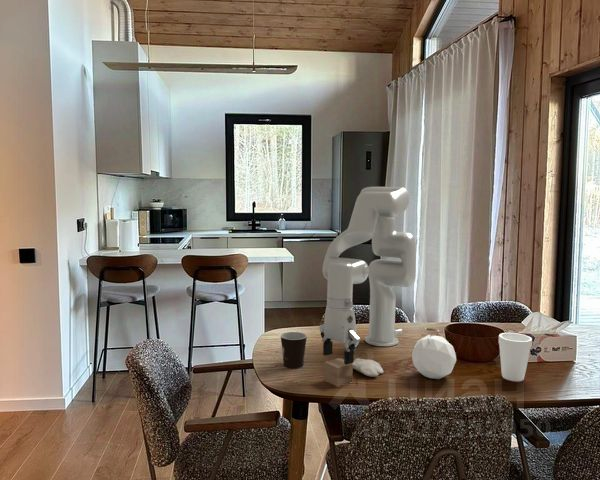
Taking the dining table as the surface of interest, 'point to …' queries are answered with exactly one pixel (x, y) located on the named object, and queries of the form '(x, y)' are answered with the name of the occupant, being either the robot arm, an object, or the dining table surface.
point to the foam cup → (514, 355)
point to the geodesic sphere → (434, 356)
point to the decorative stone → (367, 367)
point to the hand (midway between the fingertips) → (338, 359)
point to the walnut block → (338, 372)
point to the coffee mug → (293, 349)
